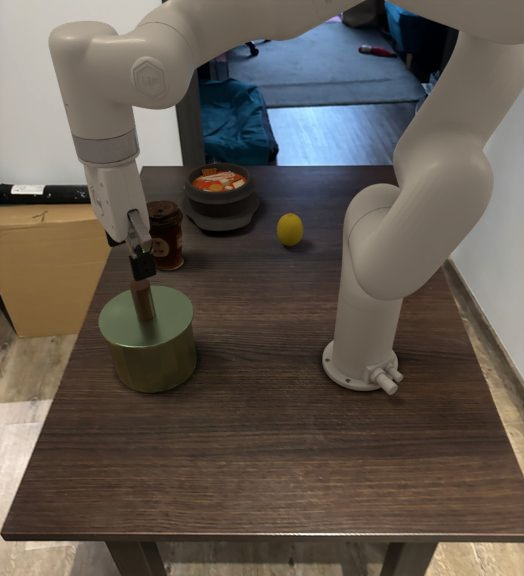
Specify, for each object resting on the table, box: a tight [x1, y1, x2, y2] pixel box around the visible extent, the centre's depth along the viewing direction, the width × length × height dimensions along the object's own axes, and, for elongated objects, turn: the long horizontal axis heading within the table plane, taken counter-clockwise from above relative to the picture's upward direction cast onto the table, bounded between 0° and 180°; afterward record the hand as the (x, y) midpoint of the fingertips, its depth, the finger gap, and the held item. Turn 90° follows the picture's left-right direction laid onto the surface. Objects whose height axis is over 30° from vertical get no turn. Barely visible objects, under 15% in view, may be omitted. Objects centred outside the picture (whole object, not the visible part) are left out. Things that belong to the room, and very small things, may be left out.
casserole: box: [181, 162, 260, 232], centre depth 124 cm, size 25×19×8 cm
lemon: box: [276, 212, 304, 248], centre depth 112 cm, size 6×6×8 cm
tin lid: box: [98, 278, 195, 350], centre depth 81 cm, size 15×15×7 cm
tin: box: [106, 322, 198, 394], centre depth 87 cm, size 14×14×10 cm
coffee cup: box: [146, 199, 184, 271], centre depth 107 cm, size 9×8×13 cm
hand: (132, 259), depth 76 cm, fingers open, 9 cm apart
